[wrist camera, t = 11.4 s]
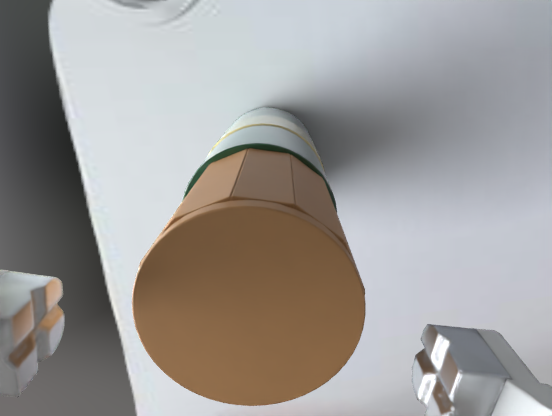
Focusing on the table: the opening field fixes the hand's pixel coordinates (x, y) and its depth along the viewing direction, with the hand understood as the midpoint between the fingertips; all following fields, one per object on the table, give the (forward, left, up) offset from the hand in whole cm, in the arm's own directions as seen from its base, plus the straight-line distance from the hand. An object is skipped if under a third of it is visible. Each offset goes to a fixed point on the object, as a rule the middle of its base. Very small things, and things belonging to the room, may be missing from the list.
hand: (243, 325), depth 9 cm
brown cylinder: (0, 0, -7) cm, 7 cm away
